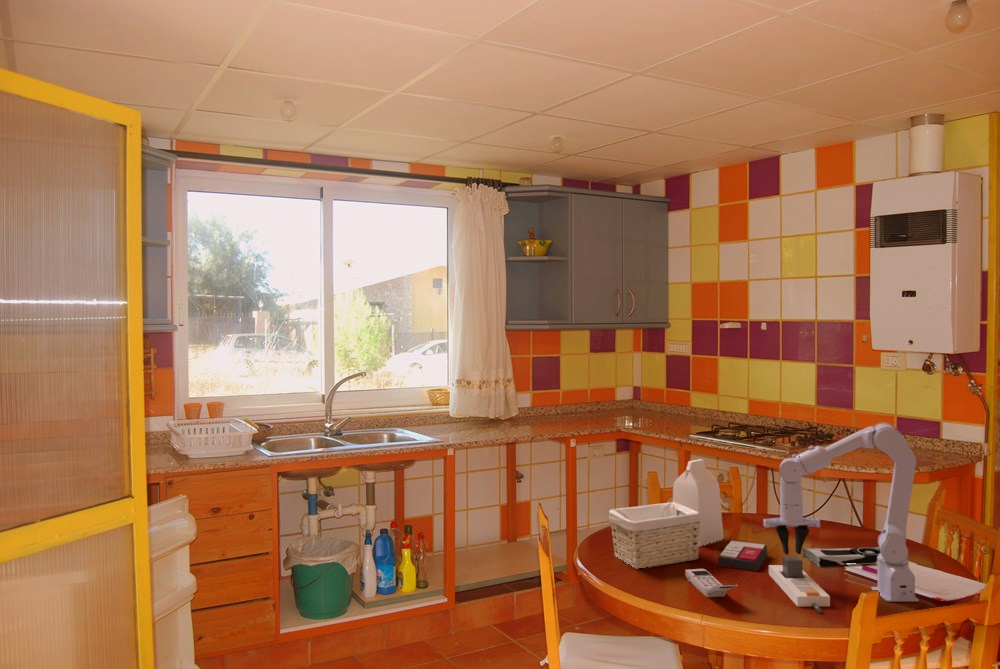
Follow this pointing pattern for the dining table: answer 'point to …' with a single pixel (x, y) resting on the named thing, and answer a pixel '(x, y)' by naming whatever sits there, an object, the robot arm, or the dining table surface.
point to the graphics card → (842, 556)
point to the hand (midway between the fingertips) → (792, 553)
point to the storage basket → (655, 534)
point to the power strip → (800, 589)
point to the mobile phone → (706, 583)
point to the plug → (792, 567)
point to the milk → (701, 499)
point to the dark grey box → (743, 555)
